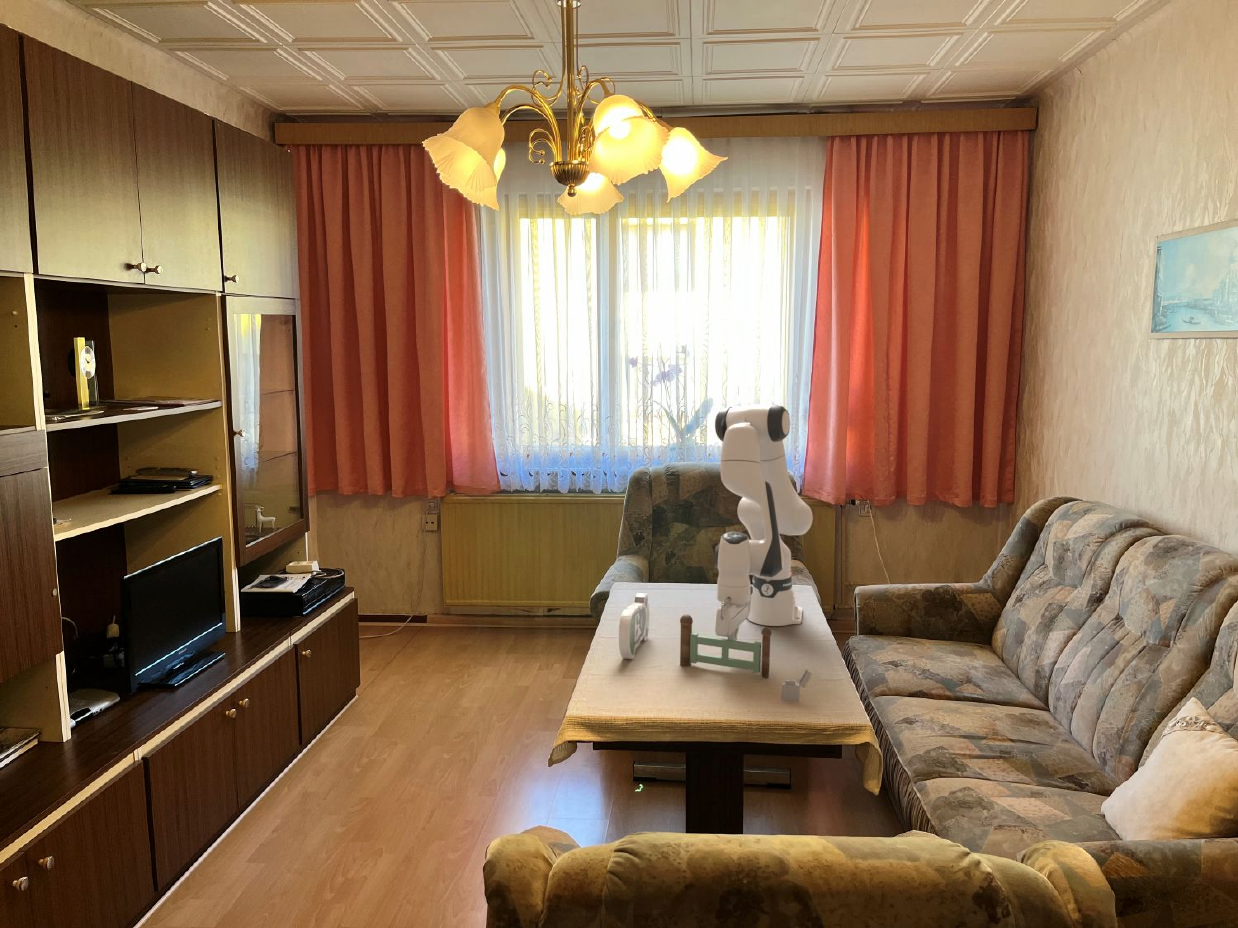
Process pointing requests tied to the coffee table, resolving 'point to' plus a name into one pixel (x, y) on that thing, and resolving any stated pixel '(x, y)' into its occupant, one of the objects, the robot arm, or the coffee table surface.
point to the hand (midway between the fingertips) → (732, 642)
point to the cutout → (634, 626)
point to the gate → (725, 652)
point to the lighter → (794, 688)
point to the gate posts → (685, 645)
